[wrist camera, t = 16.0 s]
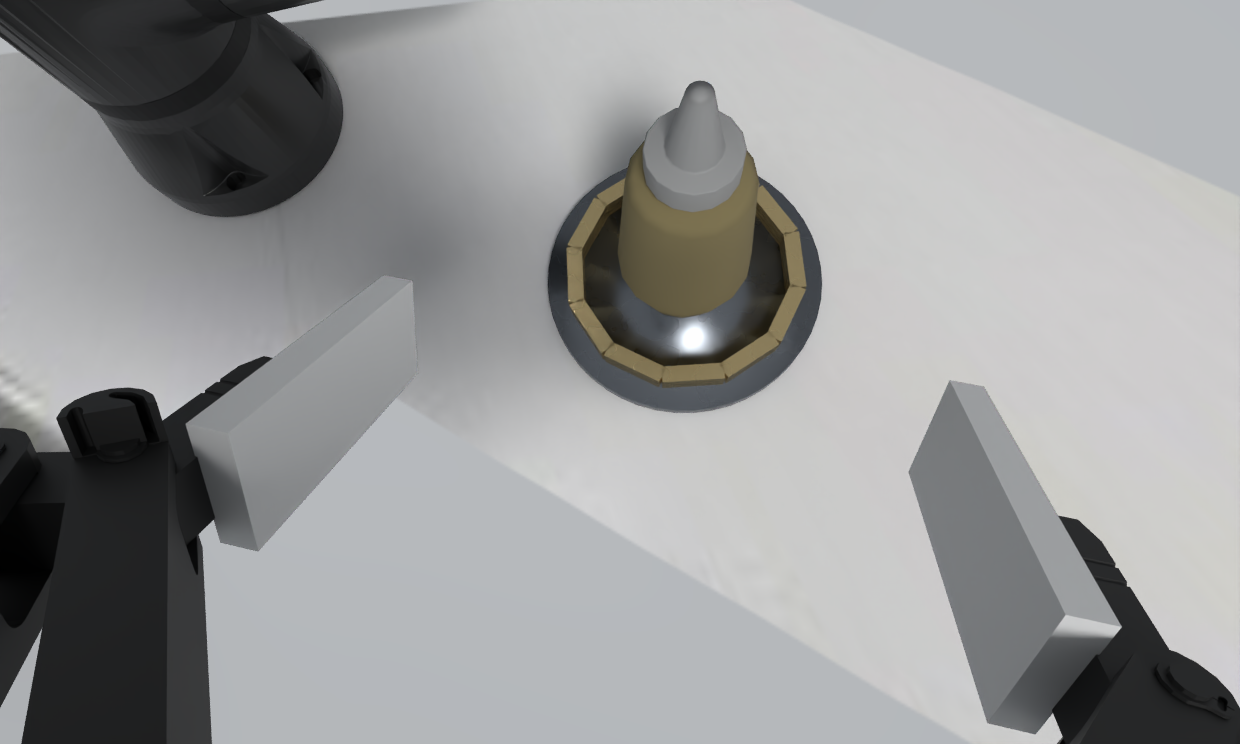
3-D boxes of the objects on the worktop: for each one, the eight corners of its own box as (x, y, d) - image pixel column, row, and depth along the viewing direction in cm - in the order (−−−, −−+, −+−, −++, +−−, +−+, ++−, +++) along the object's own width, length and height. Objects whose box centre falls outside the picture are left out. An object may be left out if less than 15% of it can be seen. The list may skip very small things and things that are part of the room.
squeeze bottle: (714, 205, 44) (753, -17, 27) (763, 309, 42) (840, 141, 24) (603, 246, 44) (569, 48, 26) (646, 353, 41) (640, 214, 24)
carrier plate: (502, 340, 43) (493, 328, 41) (624, 128, 47) (622, 105, 45) (750, 461, 40) (756, 455, 38) (859, 225, 44) (871, 206, 42)
